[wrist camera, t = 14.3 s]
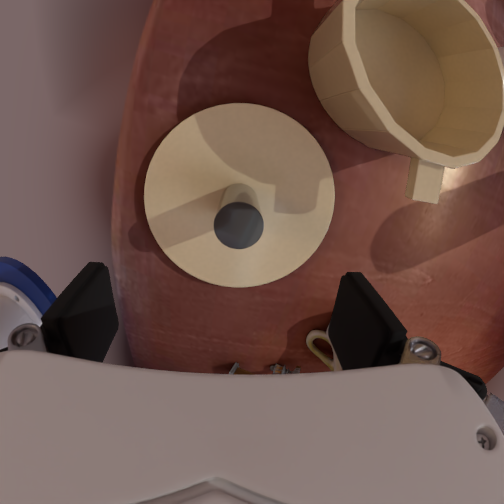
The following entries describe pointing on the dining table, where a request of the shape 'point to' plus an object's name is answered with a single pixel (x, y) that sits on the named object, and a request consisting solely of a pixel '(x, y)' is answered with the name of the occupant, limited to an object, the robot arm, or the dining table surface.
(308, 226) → the lid
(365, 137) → the pot
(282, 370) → the wooden beam with brackets
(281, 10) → the dining table surface
